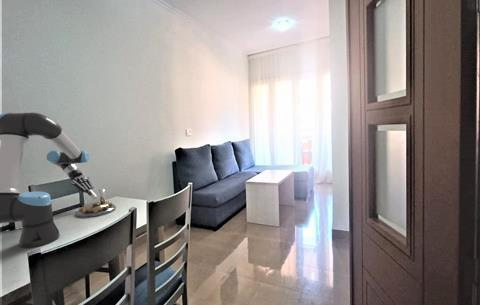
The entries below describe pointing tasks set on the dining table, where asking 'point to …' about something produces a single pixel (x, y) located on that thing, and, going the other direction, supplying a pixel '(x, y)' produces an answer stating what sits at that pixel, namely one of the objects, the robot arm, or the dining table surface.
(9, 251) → the dining table surface
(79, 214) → the grey plate
